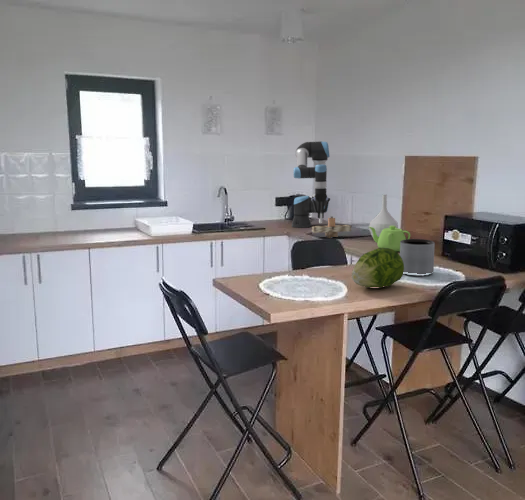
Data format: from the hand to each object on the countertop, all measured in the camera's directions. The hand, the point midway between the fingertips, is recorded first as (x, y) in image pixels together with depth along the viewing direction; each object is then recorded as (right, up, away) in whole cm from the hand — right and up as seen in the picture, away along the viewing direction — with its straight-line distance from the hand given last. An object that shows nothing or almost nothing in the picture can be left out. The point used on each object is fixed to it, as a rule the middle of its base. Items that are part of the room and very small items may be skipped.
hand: (320, 222), depth 352 cm
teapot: (+36, -18, -43) cm, 59 cm away
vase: (+39, -12, -13) cm, 43 cm away
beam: (+8, -10, +3) cm, 13 cm away
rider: (+8, -3, +2) cm, 9 cm away
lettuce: (+10, -35, -125) cm, 130 cm away
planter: (+35, -30, -101) cm, 111 cm away
